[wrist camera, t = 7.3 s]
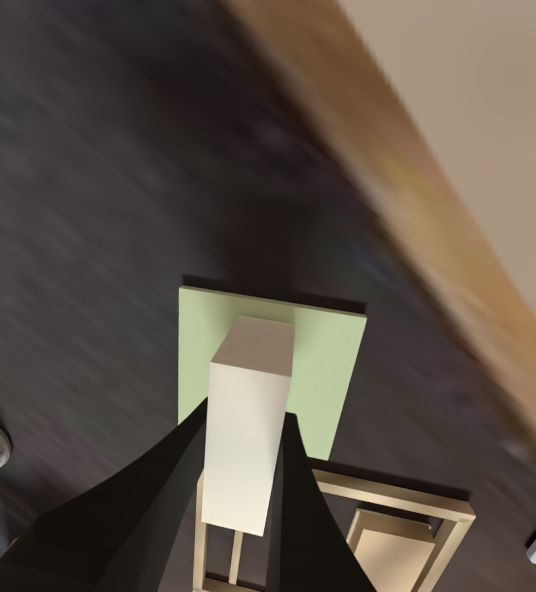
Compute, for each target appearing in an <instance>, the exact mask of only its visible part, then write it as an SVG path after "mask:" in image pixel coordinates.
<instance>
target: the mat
mask: <svg viewBox="0 0 536 592" xmlns="http://www.w3.org/2000/svg"><path fill="white" fill-rule="evenodd" d="M239 315H243V316H249V317H255V318H261V319H266V320H272V321H278V322H284V323H290V324H295V336H294V351H293V366H292V379H291V384H290V390H289V395H288V400H287V406H286V411H285V412H290V413H295V414H296V415H297V418H298V424H299V429H300V433H301V437H302V441H303V444H304V447H305V450H306V454H307V456H309V457H313V458H318V459H323V460H328V458H329V454H330V451H331V447H332V443H333V440H334V436H335V433H336V429H337V425H338V422H339V418H340V414H341V411H342V407H343V404H344V400H345V396H346V393H347V389H348V385H349V382H350V378H351V375H352V371H353V367H354V364H355V360H356V356H357V353H358V349H359V346H360V342H361V338H362V335H363V331H364V327H365V324H366V320H367V317H366V316H365V315H364V314H358V313H352V312H346V311H339V310H333V309H327V308H321V307H315V306H308V305H302V304H296V303H290V302H283V301H277V300H271V299H265V298H259V297H252V296H246V295H240V294H234V293H228V292H221V291H215V290H209V289H203V288H196V287H190V286H184V285H183V286H181V287H180V288H179V399H178V425H179V424H180V423H181V422H182V421H183V420H184V419H185V418H186V417H188V416H189V415H190V414H191V413H192V412H193V410H194V409H195V408H196V407H197V406H198V405H199V404H200V403H201V402H202V401H203V400H204V399H205V398H206V397H207V396H208V390H209V372H210V361H211V360H212V358H213V357H214V355H215V353H216V352H217V350H218V348H219V347H220V345H221V344H222V342H223V340H224V339H225V337H226V336H227V334H228V332H229V331H230V329H231V327H232V326H233V324H234V323H235V321H236V319H237V318H238V316H239Z"/></svg>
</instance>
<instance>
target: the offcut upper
mask: <svg viewBox="0 0 536 592" xmlns="http://www.w3.org/2000/svg"><path fill="white" fill-rule="evenodd" d="M435 544H436V543H435V541H434V539H433V536H432V534H431V531H430V529H429V526H427V525H422V524H417V523H412V522H407V521H402V520H397V519H392V518H387V517H382V516H377V515H372V514H367V513H362V512H360V514H359V517H358V520H357V523H356V525H355V528H354V531H353V534H352V537H351V540H350V543H349V547H350V549H351V550H352V552H353V554H354V555H355V557H356V559H357V560H358V562H359V564H360V565H361V567H362V569H363V570H364V572H365V573H366V575H367V576H368V578H369V580H370V581H371V583H372V584H373V586H374V587H375V589H376V590H377V592H411V590H412V588H413V586H414V584H415V582H416V580H417V578H418V577H419V575H420V573H421V571H422V569H423V567H424V565H425V563H426V561H427V559H428V558H429V556H430V554H431V552H432V550H433V548H434V546H435Z"/></svg>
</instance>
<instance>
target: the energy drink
mask: <svg viewBox="0 0 536 592" xmlns="http://www.w3.org/2000/svg"><path fill="white" fill-rule="evenodd" d="M10 453H11V444H10V441H9V439H8V437H7V436H6V434H5V433H4V432H3V431H2V429H1V428H0V467H1V466H3V465H4V464H5V463H6V462H7V461H8V459H9V457H10Z"/></svg>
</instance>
